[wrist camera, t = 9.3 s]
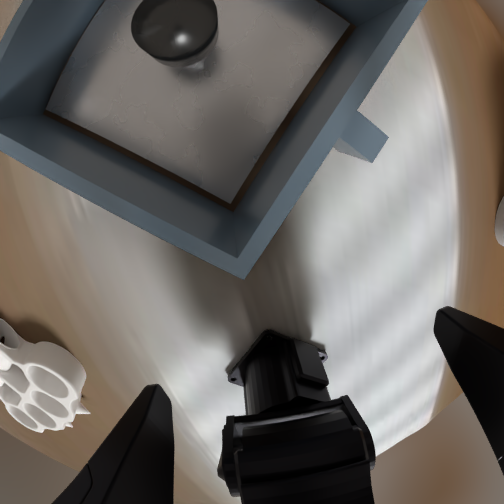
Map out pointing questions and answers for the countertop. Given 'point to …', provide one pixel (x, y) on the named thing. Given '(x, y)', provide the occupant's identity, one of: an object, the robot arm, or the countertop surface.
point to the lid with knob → (195, 80)
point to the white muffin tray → (39, 382)
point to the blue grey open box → (164, 188)
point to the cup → (500, 223)
